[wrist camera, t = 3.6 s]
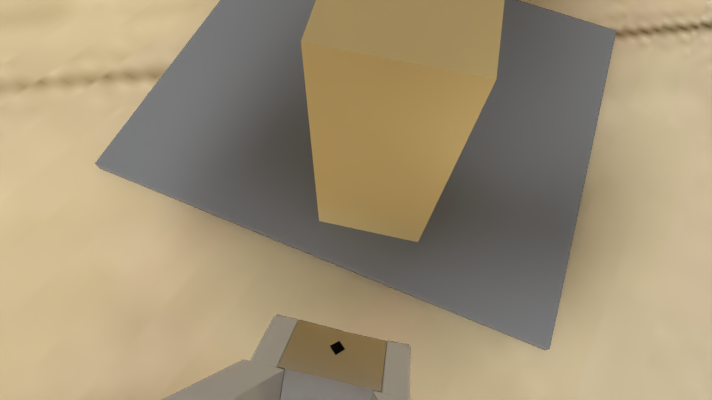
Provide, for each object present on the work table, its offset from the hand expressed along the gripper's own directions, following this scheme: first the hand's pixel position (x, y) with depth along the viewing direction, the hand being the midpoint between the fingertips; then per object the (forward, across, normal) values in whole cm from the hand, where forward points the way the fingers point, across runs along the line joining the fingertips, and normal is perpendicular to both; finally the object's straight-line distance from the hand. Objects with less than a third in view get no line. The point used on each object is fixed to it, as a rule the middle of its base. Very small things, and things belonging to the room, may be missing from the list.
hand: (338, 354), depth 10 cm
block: (+14, 0, 0) cm, 14 cm away
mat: (+19, +1, -4) cm, 19 cm away
